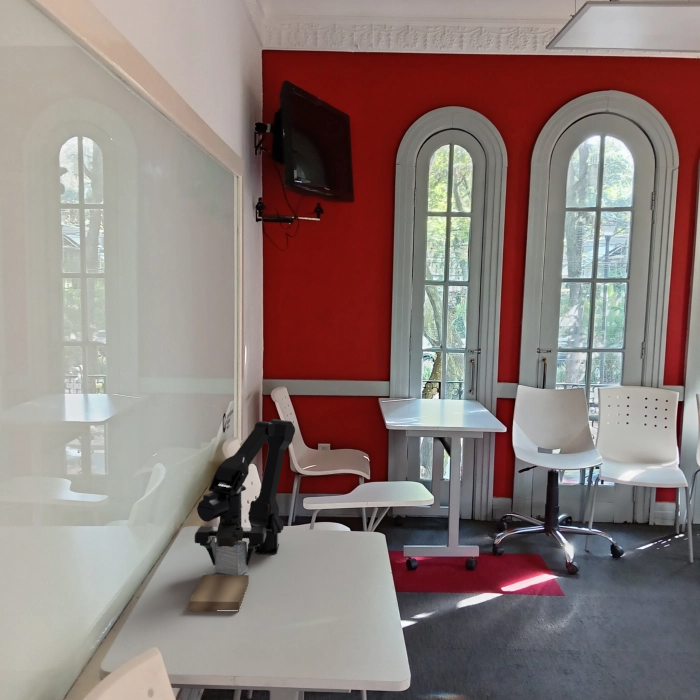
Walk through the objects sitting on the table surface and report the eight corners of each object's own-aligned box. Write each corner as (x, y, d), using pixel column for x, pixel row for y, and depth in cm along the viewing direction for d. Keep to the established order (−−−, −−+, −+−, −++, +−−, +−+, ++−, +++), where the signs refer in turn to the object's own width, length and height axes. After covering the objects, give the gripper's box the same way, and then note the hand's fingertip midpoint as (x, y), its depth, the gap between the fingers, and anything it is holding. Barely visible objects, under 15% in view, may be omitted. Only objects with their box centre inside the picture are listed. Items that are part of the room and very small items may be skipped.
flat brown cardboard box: (248, 586, 159) (248, 575, 159) (239, 613, 145) (238, 601, 145) (203, 585, 159) (203, 574, 159) (189, 613, 145) (189, 601, 145)
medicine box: (247, 571, 167) (247, 541, 166) (238, 578, 163) (238, 547, 162) (224, 565, 170) (224, 536, 169) (214, 572, 166) (214, 541, 165)
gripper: (188, 520, 157) (189, 578, 158) (260, 521, 157) (260, 578, 158) (199, 505, 168) (199, 559, 169) (266, 506, 168) (266, 560, 169)
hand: (231, 564), depth 166 cm, fingers closed on medicine box, 9 cm apart
